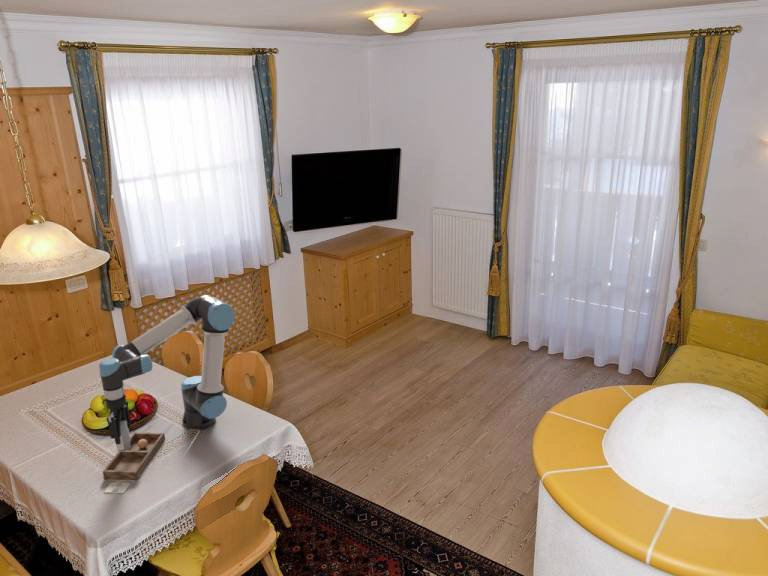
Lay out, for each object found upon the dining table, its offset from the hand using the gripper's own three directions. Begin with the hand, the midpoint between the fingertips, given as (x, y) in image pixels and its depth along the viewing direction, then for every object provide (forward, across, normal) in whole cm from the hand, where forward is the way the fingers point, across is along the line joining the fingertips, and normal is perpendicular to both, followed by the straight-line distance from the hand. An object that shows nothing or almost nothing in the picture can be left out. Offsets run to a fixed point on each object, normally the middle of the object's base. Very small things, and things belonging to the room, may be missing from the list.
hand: (123, 445), depth 242 cm
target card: (+12, +12, +1) cm, 17 cm away
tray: (+12, -7, 0) cm, 14 cm away
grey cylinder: (+1, 0, 0) cm, 1 cm away
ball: (+11, -14, 0) cm, 18 cm away
